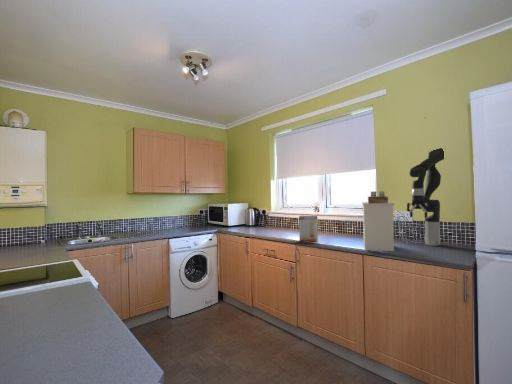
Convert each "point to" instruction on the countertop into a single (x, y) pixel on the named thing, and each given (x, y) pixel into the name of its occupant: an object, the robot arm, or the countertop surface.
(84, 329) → the countertop surface
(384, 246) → the cabinet
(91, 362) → the countertop surface
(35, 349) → the countertop surface
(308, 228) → the cracker box
